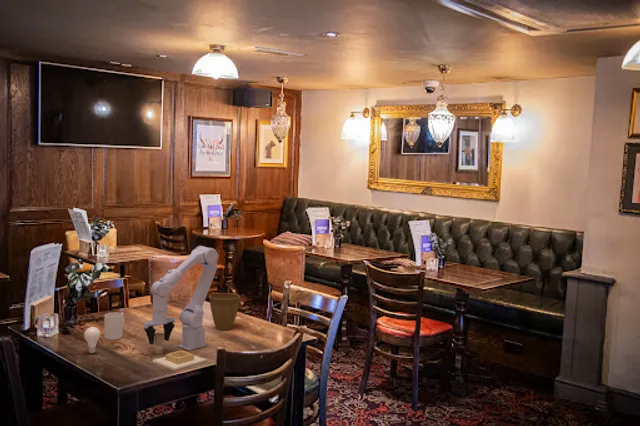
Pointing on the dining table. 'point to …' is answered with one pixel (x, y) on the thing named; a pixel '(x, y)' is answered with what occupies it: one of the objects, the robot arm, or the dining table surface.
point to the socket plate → (179, 360)
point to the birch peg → (159, 343)
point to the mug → (114, 325)
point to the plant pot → (224, 309)
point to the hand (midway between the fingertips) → (159, 342)
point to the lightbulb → (92, 338)
